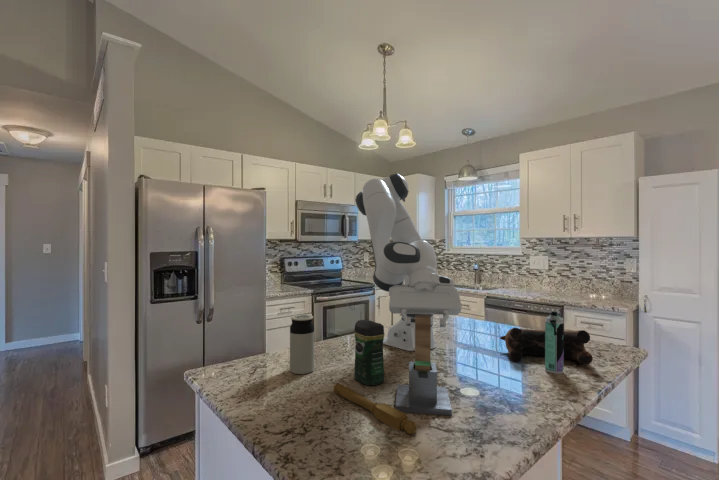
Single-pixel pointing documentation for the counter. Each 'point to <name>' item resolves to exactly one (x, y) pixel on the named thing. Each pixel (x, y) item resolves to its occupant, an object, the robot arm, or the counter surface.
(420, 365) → the column
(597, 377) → the counter surface
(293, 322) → the travel mug
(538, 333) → the stuffed animal
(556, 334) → the spray can
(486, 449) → the counter surface
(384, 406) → the tap handle
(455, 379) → the counter surface
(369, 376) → the coffee jar
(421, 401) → the stand
